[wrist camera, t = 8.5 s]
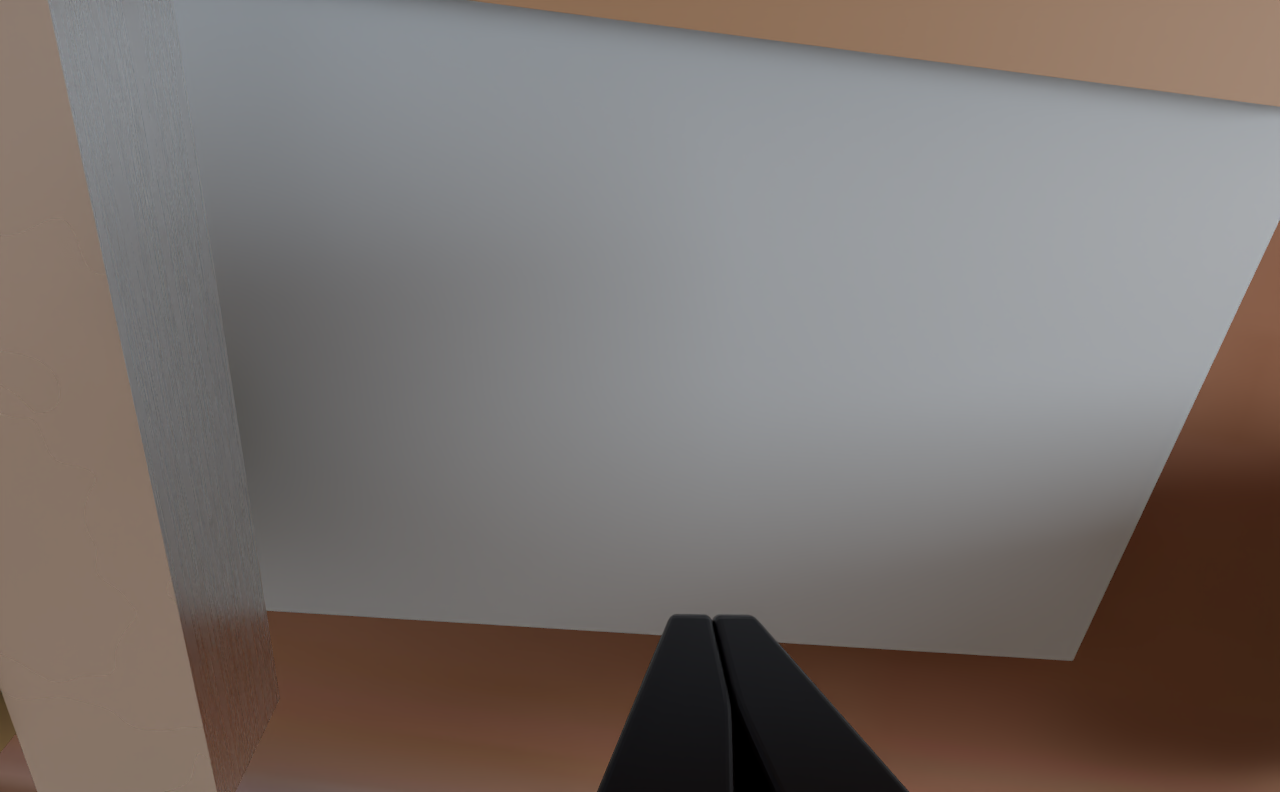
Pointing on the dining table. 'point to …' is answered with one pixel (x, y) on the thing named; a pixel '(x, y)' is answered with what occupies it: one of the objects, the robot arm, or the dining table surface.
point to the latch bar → (118, 421)
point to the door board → (724, 300)
